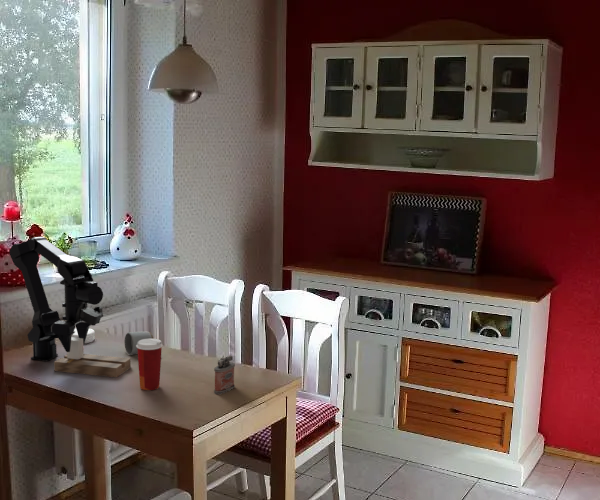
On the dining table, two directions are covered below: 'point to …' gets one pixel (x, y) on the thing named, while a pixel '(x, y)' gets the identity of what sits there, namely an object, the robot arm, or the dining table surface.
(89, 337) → the white bowl
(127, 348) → the ceramic mug
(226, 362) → the lighter
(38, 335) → the robot arm
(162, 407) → the dining table surface
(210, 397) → the dining table surface
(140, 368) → the paper cup
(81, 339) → the fader tab
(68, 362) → the fader track
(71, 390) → the dining table surface
